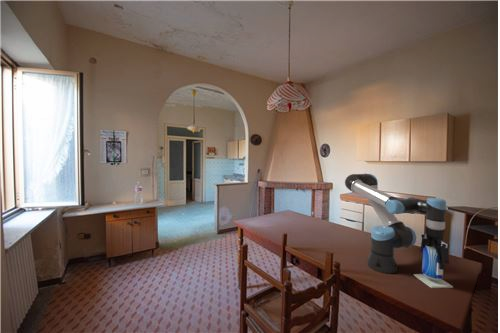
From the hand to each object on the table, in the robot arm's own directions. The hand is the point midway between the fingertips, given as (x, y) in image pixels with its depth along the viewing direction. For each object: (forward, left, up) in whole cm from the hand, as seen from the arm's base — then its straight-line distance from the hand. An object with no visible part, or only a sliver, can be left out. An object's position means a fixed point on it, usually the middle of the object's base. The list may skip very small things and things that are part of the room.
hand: (433, 270), depth 110 cm
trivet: (0, 0, -6) cm, 6 cm away
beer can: (0, +1, -4) cm, 4 cm away
